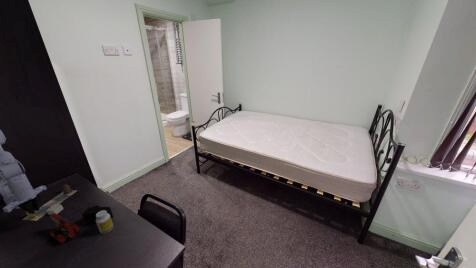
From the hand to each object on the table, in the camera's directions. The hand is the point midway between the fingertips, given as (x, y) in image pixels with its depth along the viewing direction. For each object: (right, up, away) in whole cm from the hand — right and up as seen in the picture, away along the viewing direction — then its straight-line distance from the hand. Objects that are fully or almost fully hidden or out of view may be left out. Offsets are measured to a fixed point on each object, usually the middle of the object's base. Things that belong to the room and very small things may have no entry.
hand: (34, 211), depth 81 cm
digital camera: (+26, -7, +6) cm, 28 cm away
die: (0, -5, +10) cm, 11 cm away
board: (-7, -3, +15) cm, 16 cm away
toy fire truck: (+17, -10, -1) cm, 20 cm away
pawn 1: (-7, -5, +6) cm, 11 cm away
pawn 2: (-6, +1, +22) cm, 23 cm away
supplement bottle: (+33, -9, +1) cm, 34 cm away
